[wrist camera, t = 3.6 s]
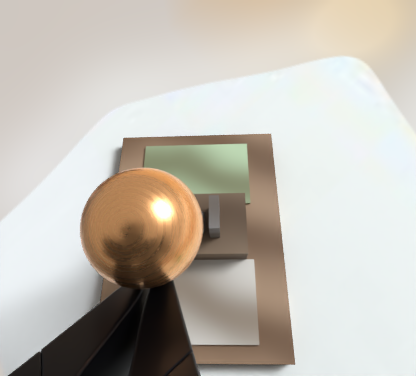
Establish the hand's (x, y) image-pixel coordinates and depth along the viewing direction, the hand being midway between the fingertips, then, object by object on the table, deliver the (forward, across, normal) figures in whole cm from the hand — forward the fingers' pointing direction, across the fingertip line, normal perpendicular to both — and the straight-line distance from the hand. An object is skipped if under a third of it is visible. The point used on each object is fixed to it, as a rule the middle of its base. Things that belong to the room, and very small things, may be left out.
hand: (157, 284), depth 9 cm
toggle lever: (+10, 0, +3) cm, 10 cm away
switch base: (+12, 0, +5) cm, 13 cm away
